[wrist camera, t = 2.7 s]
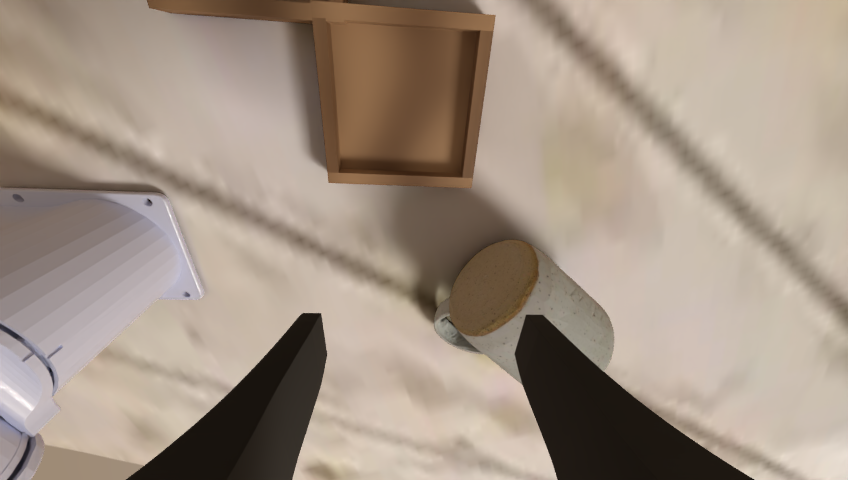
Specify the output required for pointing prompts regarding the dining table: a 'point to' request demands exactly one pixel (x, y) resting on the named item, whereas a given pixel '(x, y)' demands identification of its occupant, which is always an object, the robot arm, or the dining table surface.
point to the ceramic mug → (519, 306)
